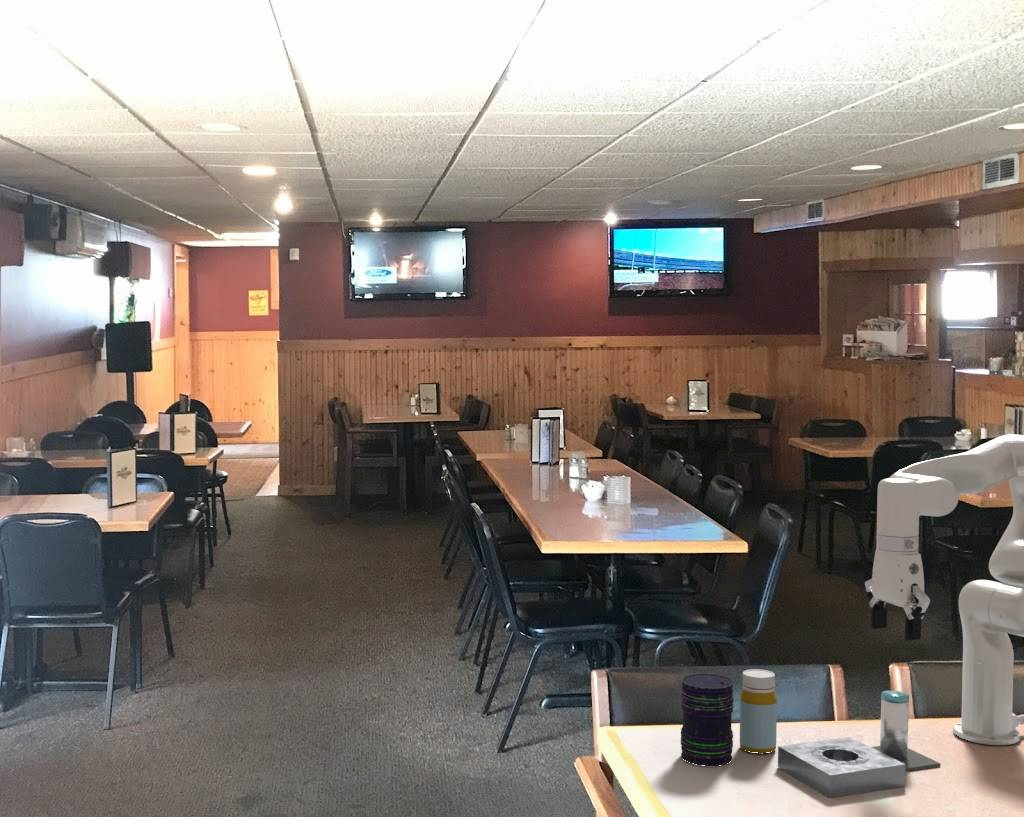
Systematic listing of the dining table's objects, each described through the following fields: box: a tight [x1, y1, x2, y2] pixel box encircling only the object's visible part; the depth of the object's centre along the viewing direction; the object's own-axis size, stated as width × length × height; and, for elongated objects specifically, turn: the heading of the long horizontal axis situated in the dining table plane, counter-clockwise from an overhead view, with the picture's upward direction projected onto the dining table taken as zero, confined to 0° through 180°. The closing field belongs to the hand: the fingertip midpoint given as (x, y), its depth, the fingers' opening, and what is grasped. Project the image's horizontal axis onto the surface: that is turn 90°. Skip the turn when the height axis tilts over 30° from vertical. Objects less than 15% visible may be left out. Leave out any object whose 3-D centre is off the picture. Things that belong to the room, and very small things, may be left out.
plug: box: [879, 690, 910, 761], centre depth 223 cm, size 5×5×12 cm
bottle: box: [739, 668, 778, 753], centre depth 228 cm, size 7×7×15 cm
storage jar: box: [680, 673, 734, 767], centre depth 223 cm, size 10×10×15 cm
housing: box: [777, 736, 906, 799], centre depth 214 cm, size 16×16×4 cm
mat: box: [870, 745, 941, 772], centre depth 223 cm, size 12×12×1 cm
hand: (895, 633), depth 222 cm, fingers open, 9 cm apart
